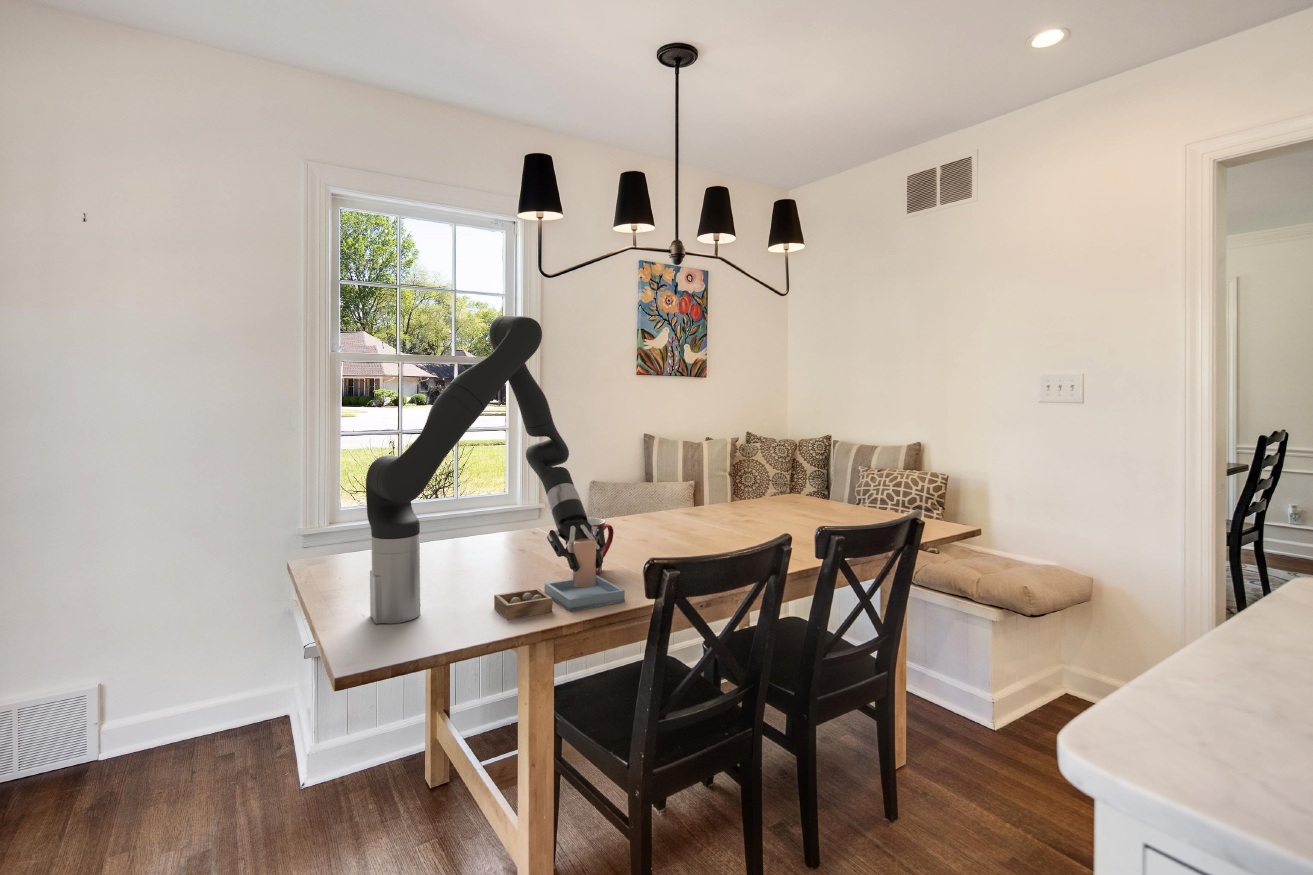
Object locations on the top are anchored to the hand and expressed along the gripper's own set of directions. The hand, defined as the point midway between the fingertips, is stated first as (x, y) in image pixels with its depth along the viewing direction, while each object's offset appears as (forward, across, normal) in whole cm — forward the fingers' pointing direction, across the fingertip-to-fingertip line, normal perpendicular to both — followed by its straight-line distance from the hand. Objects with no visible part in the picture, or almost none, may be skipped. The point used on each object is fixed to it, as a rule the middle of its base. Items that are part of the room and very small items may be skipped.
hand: (588, 567), depth 147 cm
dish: (+4, 0, +6) cm, 8 cm away
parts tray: (+5, -15, +6) cm, 17 cm away
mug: (-9, +12, +20) cm, 25 cm away
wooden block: (+2, 0, +4) cm, 5 cm away
